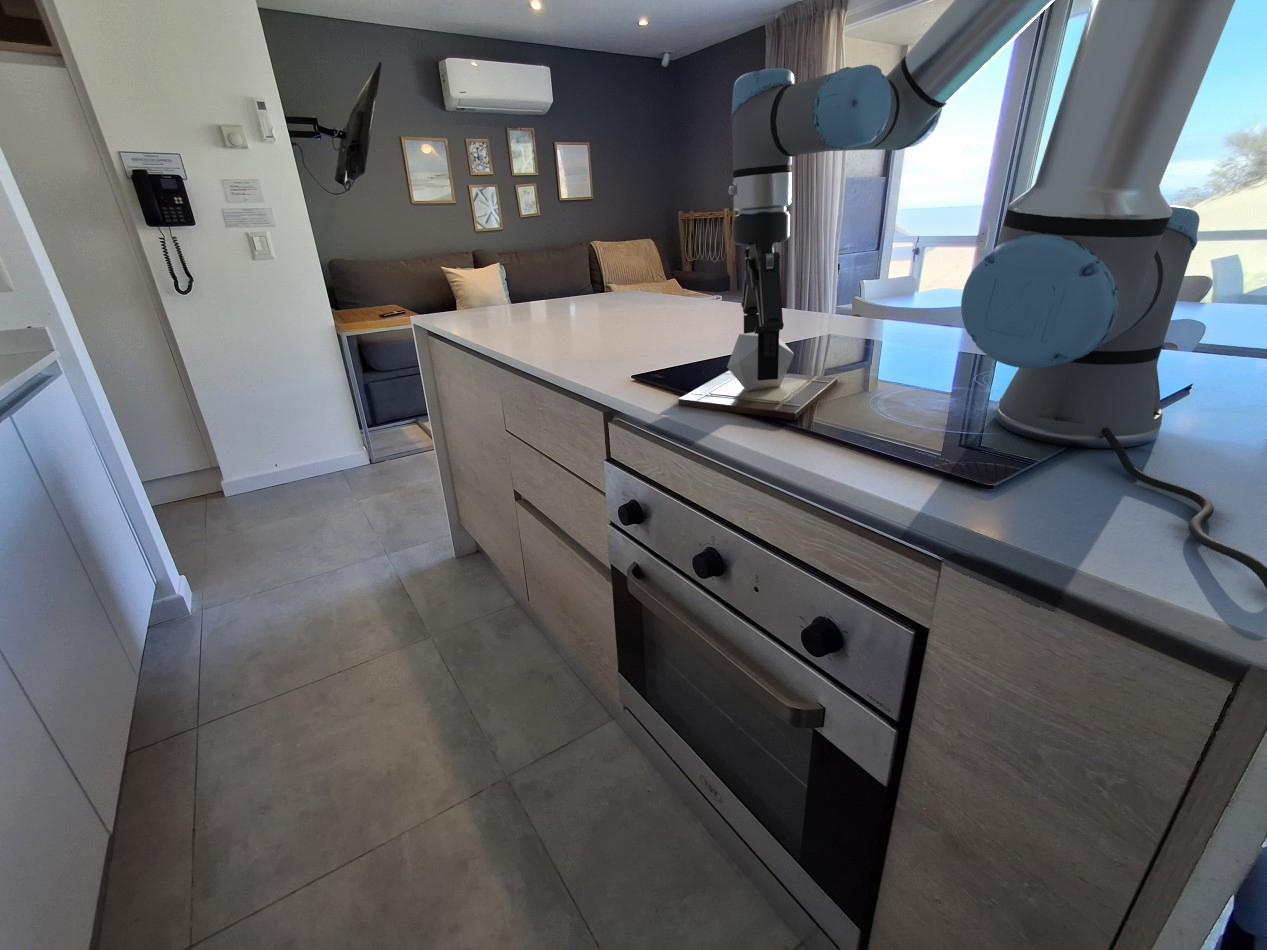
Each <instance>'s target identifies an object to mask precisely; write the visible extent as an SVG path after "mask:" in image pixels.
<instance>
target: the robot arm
mask: <svg viewBox="0 0 1267 950" xmlns="http://www.w3.org/2000/svg"><path fill="white" fill-rule="evenodd" d="M1054 1H1055V0H953V1H952V3H951V4H949V6H948V7H947V8H946V9H945V10H944V11H943V13H942V14H941V15H940V16H939V17H938V18H937V19H936V21H935V22H934V23H933V24H932V25H931V26H930V27H929V28H928V29H927V30H926V32H925V33H924V34H923V35H922V36H921V37H920V38H919V40H918V41H917V42H916V43H915V44H914V46H912V48H911V49H910V50H909V51H908V52H907V53H906V54H905V55H904V56H903V57H902V58H901V60H900V61H899V62H898V63H896V65H895V66H894V67H893V68H892V70H891V71H890V72H888V74H887V75H885V74H884V73H882V68H880V67H879V66H877V65H875V64H863V65H859V66H854V67H851V66H846V67H842V68H839V70H837V71H834V72H831V73H828V74H823V75H821V76H817V77H813V78H809V79H807V80H803V81H800V82H797V83H795V75H794V73H793V72H792V70H790V69H788V68H782V67H776V68H773V67H772V68H764V69H761V70H757V71H754V70H753V71H751V72H747V73H745V74H742V75H741V76H739V77H738V78H737V79H736V80H735V82H734V84H733V87H732V88H733V89H732V103H731V104H732V105H731V115H730V122H731V137H732V184H733V185H730V186H729V187H728V194H729V195H734V196H733V198H732V206H733V207H732V209H733V210H734V211H736V212H737V215H734V216H733V217H734V218H732V242H733V243H734V245H737V246H749V247H745V248H744V251H743V254H744V262H743V263H744V269H743V281H742V294H741V295H742V296H741V299H742V300H741V303H740V305H741V308H742V313H743V314H744V315H743V334H745V333H752V332H755V334H758V373H757V379H758V380H772V379H778V360H779V338H780V331H781V330H784V326H785V325H784V319H783V304H782V288H781V275H780V273H781V271H780V259H781V254H780V252H779V251H775V252H774V245H775V244H777V243H784V242H787V241H788V240H789V238H790V231H791V230H790V227H791V224H790V223H791V213H789V211H787V207H789V206H790V205H791V204H792V179H793V177H792V174H793V172H792V166H793V157H797V156H801V155H809V154H818V153H825V152H843V151H844V152H846V151H865V150H867V151H869V150H871V151H872V150H873V151H880V150H881V151H901V150H904V149H907V148H912V147H916V146H917V145H920V144H921V143H923V142H924V141H926V140H927V139H928V138H930V136H931V135H932V134H933V133H934V131H935V130H936V127H937V125H938V124H939V121H940V119H941V116H942V113H943V108H944V107H945V106H946V105H947V104H948V103H949V102H950V101H951V100H952V99H953V98H954V97H956V96H957V94H958V93H960V91H962V90H963V89H964V88H965V87H966V86H967V85H968V84H969V83H970V82H971V81H972V80H973V79H974V78H975V77H976V76H977V75H978V74H979V73H980V72H981V71H982V70H983V69H984V68H985V67H987V66H988V65H989V64H990V63H991V62H992V61H993V60H994V59H995V58H996V57H997V56H998V55H999V54H1000V53H1001V52H1002V51H1003V50H1004V49H1005V48H1006V47H1008V45H1009V44H1011V42H1013V41H1014V40H1015V39H1016V38H1017V37H1018V36H1019V35H1020V34H1021V33H1022V32H1024V30H1025V29H1026V28H1027V27H1028V26H1029V25H1030V24H1031V23H1032V22H1033V21H1035V19H1037V18H1038V16H1040V14H1042V13H1043V12H1044V10H1046V9H1047V8H1048V7H1049V6H1050V5H1051V4H1052V3H1053V2H1054ZM1235 3H1236V0H1091V2H1090V6H1089V9H1088V12H1087V15H1086V18H1085V22H1084V25H1083V29H1082V31H1081V35H1080V38H1079V41H1078V45H1077V48H1076V51H1075V54H1074V57H1073V61H1072V64H1071V66H1070V70H1069V73H1068V76H1067V80H1066V83H1065V86H1064V88H1063V89H1064V90H1063V92H1062V95H1061V98H1060V103H1059V106H1058V108H1057V112H1056V114H1055V115H1056V116H1055V118H1054V122H1053V124H1052V128H1051V131H1050V134H1049V138H1048V141H1047V144H1046V147H1045V150H1044V153H1043V157H1042V160H1041V163H1040V165H1039V170H1038V173H1037V176H1036V179H1035V182H1034V184H1033V185H1032V186H1031V187H1030V188H1029V189H1028V190H1026V191H1025V192H1024V193H1022V194H1021V195H1020V196H1018V197H1017V198H1015V199H1014V200H1013V201H1011V202H1010V203H1009V204H1008V207H1007V209H1006V213H1005V216H1004V220H1003V223H1002V225H1001V229H1000V232H999V236H998V239H997V243H996V245H995V248H993V249H992V250H991V251H989V253H987V254H986V255H985V256H983V257H982V259H981V260H980V261H979V262H978V263H977V264H976V265H975V266H974V268H973V269H972V270H971V272H970V273H969V275H968V278H967V279H966V282H965V284H964V287H963V289H962V294H961V300H960V312H961V319H962V322H963V325H964V329H965V330H966V333H967V334H968V335H969V336H970V338H971V340H972V341H973V343H975V346H976V347H977V348H978V349H979V351H981V352H982V353H983V354H985V355H986V356H988V357H989V358H991V359H992V360H994V361H996V362H998V363H1001V364H1003V365H1006V366H1009V367H1013V368H1017V371H1016V372H1015V374H1014V375H1013V377H1012V379H1011V381H1010V382H1009V384H1008V386H1007V387H1006V389H1005V391H1004V392H1003V394H1002V395H1001V397H1000V399H999V402H998V405H997V409H996V414H995V420H996V421H997V423H998V424H999V425H1000V426H1002V427H1003V428H1005V429H1006V430H1008V431H1011V432H1013V433H1014V434H1018V435H1019V436H1023V437H1026V438H1030V439H1033V440H1037V441H1041V442H1046V443H1050V444H1056V445H1062V446H1069V447H1078V448H1089V449H1091V448H1092V449H1113V451H1114V453H1115V454H1116V455H1117V458H1118V459H1119V462H1120V464H1121V466H1122V468H1123V469H1124V470H1125V471H1126V472H1127V473H1128V474H1129V475H1131V477H1133V478H1135V479H1136V480H1138V481H1140V482H1142V483H1144V484H1147V485H1148V486H1152V487H1154V488H1157V489H1160V490H1164V491H1167V492H1170V493H1173V494H1176V495H1179V496H1182V497H1185V498H1186V499H1189V500H1191V501H1193V502H1195V503H1196V504H1198V506H1200V507H1201V509H1200V511H1199V512H1198V513H1197V514H1195V515H1194V516H1193V517H1192V518H1191V519H1190V520H1189V524H1188V527H1187V528H1188V531H1189V534H1190V535H1191V537H1192V538H1193V539H1194V540H1195V541H1196V542H1198V543H1199V544H1200V545H1203V547H1205V548H1207V549H1209V550H1212V551H1214V552H1217V553H1219V554H1221V555H1223V556H1226V557H1229V558H1231V559H1233V560H1234V561H1237V562H1239V563H1240V564H1242V565H1244V566H1245V567H1247V568H1248V569H1250V570H1251V571H1252V572H1253V573H1254V574H1255V575H1256V576H1257V577H1258V578H1259V580H1260V581H1261V582H1262V584H1263V586H1264V587H1265V589H1266V590H1267V565H1265V564H1264V563H1262V561H1260V560H1259V559H1257V558H1255V557H1254V556H1252V555H1250V554H1248V553H1247V552H1245V551H1242V550H1240V549H1238V548H1235V547H1232V546H1230V545H1228V544H1225V543H1223V542H1221V541H1219V540H1216V539H1214V538H1212V537H1210V536H1209V535H1207V534H1206V533H1205V532H1204V530H1203V529H1202V526H1203V524H1205V522H1207V521H1208V520H1209V519H1210V518H1211V517H1212V516H1213V513H1214V511H1215V507H1214V504H1213V503H1212V502H1211V501H1210V499H1208V498H1207V497H1206V496H1205V495H1203V494H1201V493H1199V492H1197V491H1194V490H1193V489H1190V488H1186V487H1183V486H1181V485H1178V484H1173V483H1170V482H1168V481H1164V480H1161V479H1158V478H1156V477H1153V476H1150V475H1148V474H1146V473H1144V472H1143V471H1141V470H1139V469H1138V468H1137V467H1136V466H1135V465H1134V464H1133V462H1132V461H1131V459H1130V458H1129V455H1128V453H1127V451H1126V449H1125V448H1129V447H1136V446H1142V445H1145V444H1149V443H1150V442H1153V441H1154V440H1156V439H1157V437H1159V436H1158V435H1159V433H1160V429H1161V428H1162V427H1161V426H1162V423H1163V421H1162V420H1163V410H1162V407H1161V392H1160V391H1161V389H1160V382H1159V381H1160V380H1159V373H1158V362H1159V358H1160V355H1161V351H1162V348H1163V346H1164V343H1165V339H1166V337H1167V333H1168V330H1169V326H1170V323H1171V321H1172V320H1171V319H1172V317H1173V313H1174V310H1175V307H1176V304H1177V301H1178V298H1179V294H1180V291H1181V288H1182V284H1183V281H1184V278H1185V274H1186V271H1187V269H1188V265H1189V262H1190V260H1191V256H1192V252H1193V251H1194V250H1195V248H1196V247H1197V244H1198V237H1197V235H1198V231H1199V225H1200V215H1199V213H1198V212H1197V211H1196V210H1195V209H1193V208H1190V207H1187V206H1181V205H1180V206H1179V205H1169V203H1168V202H1167V200H1166V199H1165V197H1164V196H1163V194H1162V192H1161V188H1160V185H1161V182H1162V180H1163V178H1164V175H1165V173H1166V171H1167V168H1168V166H1169V164H1170V161H1171V159H1172V157H1173V153H1174V151H1175V149H1176V146H1177V144H1178V142H1179V139H1180V136H1181V134H1182V131H1183V129H1184V127H1185V125H1186V122H1187V120H1188V117H1189V114H1190V112H1191V110H1192V107H1193V105H1194V102H1195V100H1196V98H1197V96H1198V92H1199V91H1200V88H1201V85H1202V84H1203V80H1204V78H1205V76H1206V73H1207V71H1208V68H1209V66H1210V63H1211V61H1212V59H1213V56H1214V54H1215V51H1216V49H1217V46H1218V44H1219V41H1220V39H1221V37H1222V34H1223V31H1224V30H1225V27H1226V25H1227V22H1228V20H1229V17H1230V15H1231V12H1232V10H1233V7H1234V5H1235Z"/></svg>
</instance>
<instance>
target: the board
mask: <svg viewBox="0 0 1267 950" xmlns="http://www.w3.org/2000/svg"><path fill="white" fill-rule="evenodd" d="M837 384H838V377H836V376H835V377H834V376H824V375H823V376H822V375H810V374H809V375H808V374H798V373H788V372H786V374H785V377H784V379H783V381H782V384H781V386H780V387H775V388H768V389H761V390H754V391H746V390H745V388H744V387H743V386H742V385H741V383H740V382H739V381H738V380H737V379H736V377H735V376H734V375H733V374H732V372H731V371H730V370H729V369H728V370H727V371H725V372H724V373H721V374H719V375H718V376H716V377H714V378H713V379H711V380H709V381H707V382H706V383H704V384H702V385H700V386H699V387H697V388H695V389H693V390H692V391H690V392H688V393H686V394H684V395H683V396H681V397H679V398H677V400H678V406H685V407H691V408H699V409H706V410H707V409H708V410H715V411H722V412H729V413H737V414H745V415H753V416H759V417H768V418H775V419H783V420H789V421H790V420H791V421H796V420H797V419H798V418H799V417H800V416H801V415H803V414H804V413H805V412H806V411H807V410H808V409H810V408H811V407H812V406H813V405H814V404H815V403H817V402H818V401H819V400H820V399H821V398H822V397H823V396H825V395H826V394H827V393H829V391H830V390H831V389H833V388H834V387H835V386H836V385H837Z"/></svg>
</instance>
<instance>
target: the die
mask: <svg viewBox="0 0 1267 950" xmlns="http://www.w3.org/2000/svg"><path fill="white" fill-rule="evenodd" d="M734 344H735V345H734V347H733V349H732V353H731V355H730V358H729V360H728V363H727V365H726V368H727V369H728V371H729V370H730V371H731V372H732V374H733V375H734V376H735V377H736V379H737V380H738V381H739V382H740V383H741V385H742V386H743V387H744V388H745V390H746V391H754V390H761V389H768V388H775V387H780V386H781V384H782V381H783V379H784V377H785V374H786V373H788V371H789V367H790V365H791V362H792V361H793V358H794V356H795V353H794V352H793V351H792V350H791V349H790V347H788V345H787V344H786V342H784V341H783V339H782V338H781V337H779V360H778V379H772V380H758V379H757V373H758V334H755V332H752V333H745V334H744V333H739V334H738V337H737V338H736V342H735V343H734Z"/></svg>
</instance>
